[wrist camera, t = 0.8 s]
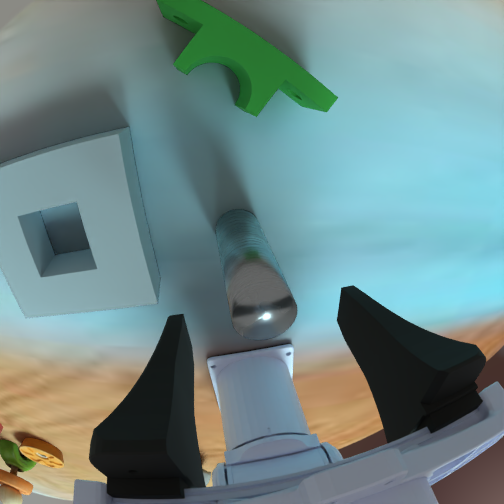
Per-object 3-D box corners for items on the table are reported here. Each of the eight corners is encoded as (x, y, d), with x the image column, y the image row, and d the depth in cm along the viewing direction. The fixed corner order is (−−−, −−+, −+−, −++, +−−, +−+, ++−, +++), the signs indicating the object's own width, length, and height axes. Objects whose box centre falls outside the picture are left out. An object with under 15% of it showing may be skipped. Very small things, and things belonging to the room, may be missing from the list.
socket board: (160, 278, 22) (157, 303, 20) (37, 294, 21) (25, 318, 19) (129, 126, 17) (118, 133, 14) (-8, 166, 16) (-31, 180, 13)
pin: (260, 245, 23) (296, 333, 15) (218, 251, 22) (235, 344, 15) (257, 206, 21) (298, 284, 13) (213, 212, 21) (228, 295, 13)
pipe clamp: (140, 49, 15) (124, 38, 11) (174, 4, 14) (168, -17, 10) (279, 136, 19) (300, 148, 15) (311, 94, 18) (339, 97, 14)
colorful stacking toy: (79, 460, 37) (75, 524, 26) (21, 459, 37) (13, 511, 26) (0, 401, 28) (-21, 477, 17) (-48, 405, 28) (-65, 463, 17)
